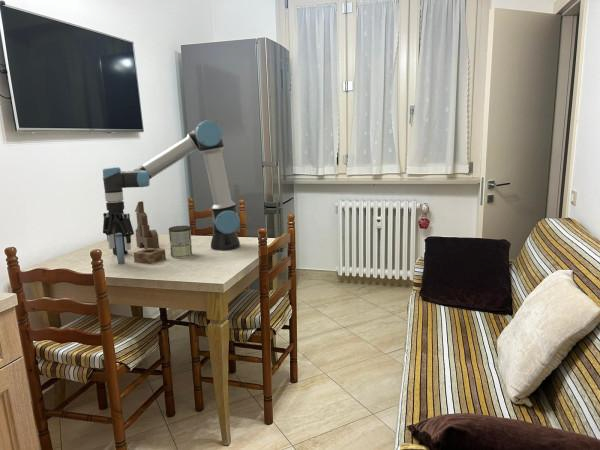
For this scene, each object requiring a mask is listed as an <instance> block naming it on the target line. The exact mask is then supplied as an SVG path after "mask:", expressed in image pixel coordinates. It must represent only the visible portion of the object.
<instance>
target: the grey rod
mask: <svg viewBox="0 0 600 450" xmlns="http://www.w3.org/2000/svg"><path fill="white" fill-rule="evenodd" d="M115 240H116V249H117V255H116V256H117V264H118V265H121V264H122V263H123V264H125V263H126V259H125V254H124V249H123V239H122V233H116V234H115Z"/></svg>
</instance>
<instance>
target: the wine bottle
mask: <svg viewBox="0 0 600 450" xmlns="http://www.w3.org/2000/svg"><path fill="white" fill-rule="evenodd" d="M112 233H113V236H114V245H115V248H113V249H112V255H116V256H117V249H116V240H115V234H116V233H122V239H123V249H124V255H125V254H126V253H127V254H128V253H129V252H128V251H129V250H128V251H125V242H124V236H125V234H124V232H123V230H122V228H121V226H120V224H118V222H115V225H114V228H113V231H112ZM127 254H126V255H127Z"/></svg>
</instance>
